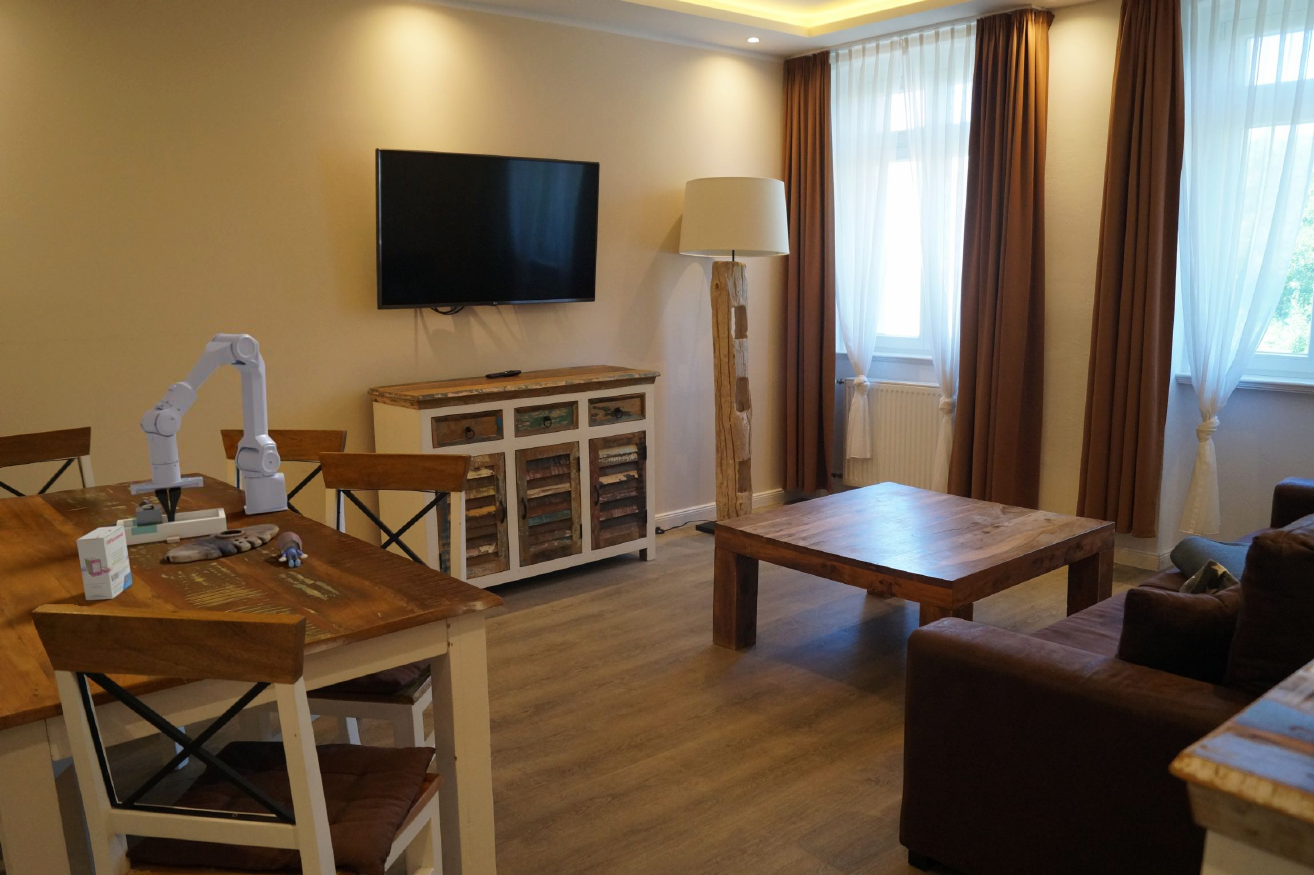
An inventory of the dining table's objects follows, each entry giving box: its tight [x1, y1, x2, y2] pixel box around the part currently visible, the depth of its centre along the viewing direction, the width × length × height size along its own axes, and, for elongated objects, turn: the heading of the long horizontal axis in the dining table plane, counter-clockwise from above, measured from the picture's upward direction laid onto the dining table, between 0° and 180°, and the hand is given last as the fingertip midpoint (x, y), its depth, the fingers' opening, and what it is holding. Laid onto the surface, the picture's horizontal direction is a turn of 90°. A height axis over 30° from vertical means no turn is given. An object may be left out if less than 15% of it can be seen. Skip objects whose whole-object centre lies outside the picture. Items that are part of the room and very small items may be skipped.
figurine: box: [276, 531, 308, 568], centre depth 199 cm, size 6×5×12 cm
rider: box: [135, 503, 163, 527], centre depth 217 cm, size 5×5×5 cm
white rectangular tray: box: [116, 507, 228, 546], centre depth 218 cm, size 22×13×4 cm, turn 117°
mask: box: [164, 523, 280, 563], centre depth 208 cm, size 15×3×25 cm
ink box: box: [76, 526, 133, 601], centre depth 180 cm, size 9×5×12 cm, turn 5°
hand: (171, 520), depth 219 cm, fingers closed
